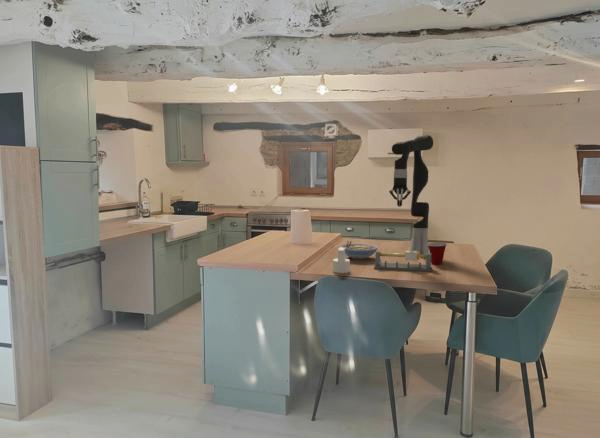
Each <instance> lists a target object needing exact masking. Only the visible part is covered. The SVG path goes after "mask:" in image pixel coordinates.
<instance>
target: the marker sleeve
mask: <svg viewBox="0 0 600 438" xmlns="http://www.w3.org/2000/svg"><path fill="white" fill-rule="evenodd" d="M409 242H410V243H409V244H410V245H409V247H410V249H409V250H405V253H404V254H406V255H405V257H404V259H405V261H407V262H417V261H418V260H417V251H412V244H413V237H411V238H410V241H409Z"/></svg>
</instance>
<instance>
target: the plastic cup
mask: <svg viewBox="0 0 600 438" xmlns="http://www.w3.org/2000/svg"><path fill="white" fill-rule="evenodd" d="M427 245H428V247H429V252H428V253H431V265H436V266H439V265H442V264H443V260H444V256H445V251H446V247H447V245H448V243H446V242H441V241H440V242H437V241H436V242H429V243H428V244H427Z"/></svg>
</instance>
